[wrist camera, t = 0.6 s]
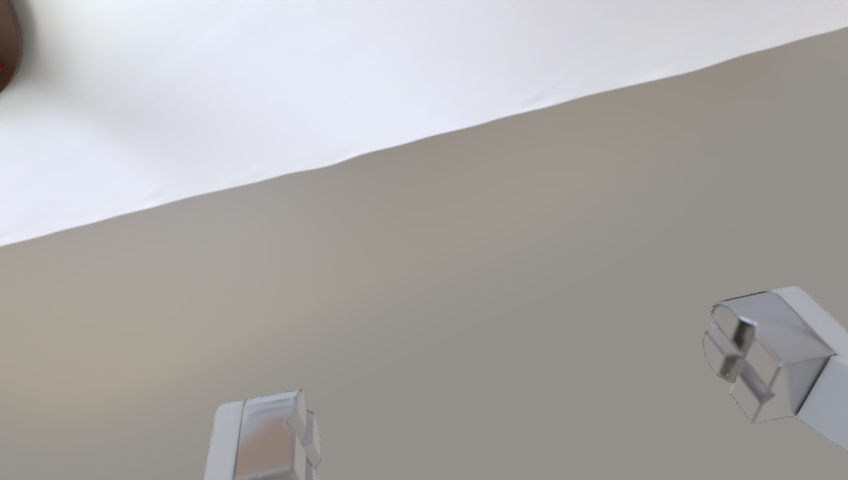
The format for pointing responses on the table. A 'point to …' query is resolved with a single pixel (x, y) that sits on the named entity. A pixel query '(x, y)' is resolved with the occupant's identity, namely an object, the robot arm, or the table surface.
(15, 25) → the upright block on disc
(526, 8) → the table surface
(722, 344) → the robot arm
